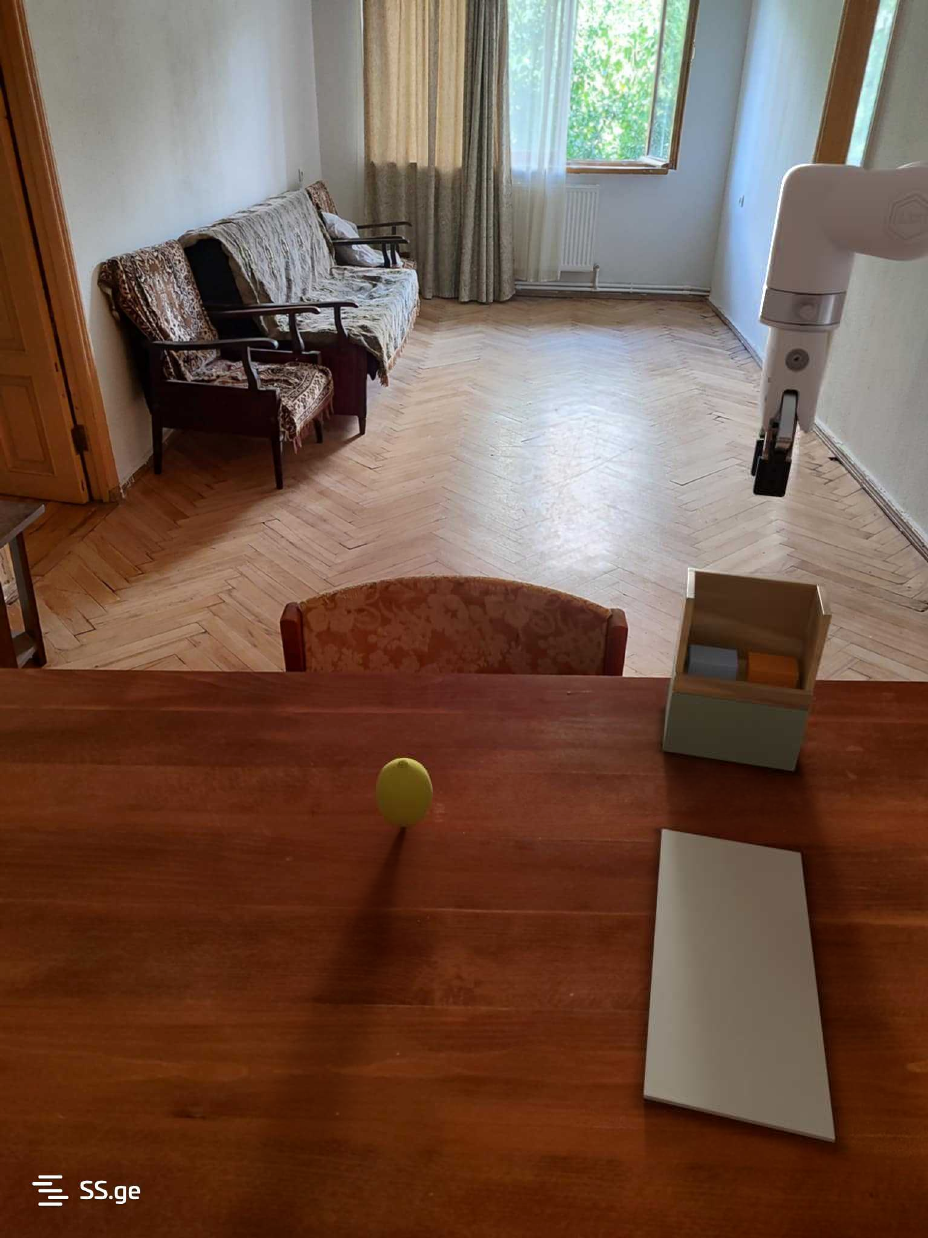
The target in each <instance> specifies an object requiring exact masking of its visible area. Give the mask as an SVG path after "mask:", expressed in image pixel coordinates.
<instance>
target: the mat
mask: <svg viewBox="0 0 928 1238" xmlns="http://www.w3.org/2000/svg"><path fill="white" fill-rule="evenodd" d="M660 839H661V840H660V853H659V867H658V881H657V895H656V896H657V897H656V912H655V923H654V924H655V927H654V937H653V938H654V940H653V953H652V954H653V955H652V966H651V967H652V968H651V981H650V982H651V983H650V999H649V1011H648V1024H647V1025H648V1026H647V1041H646V1055H645V1069H644V1072H645V1073H644V1082H643V1083H644V1084H643V1099H645V1100H650V1101H655V1102H659V1103H663V1104H667V1105H671V1106H676V1107H680V1108H685V1109H689V1110H693V1111H698V1112H701V1113H706V1114H711V1115H714V1116H718V1117H723V1118H726V1119H727V1118H728V1119H732V1120H735V1121H740V1122H744V1123H748V1124H753V1125H758V1126H762V1127H766V1128H771V1129H775V1130H779V1131H783V1132H788V1133H792V1134H797V1135H801V1136H805V1137H808V1138H812V1139H818V1140H822V1141H826V1142H830V1143H835V1141H836V1135H835V1128H834V1127H835V1126H834V1119H833V1109H832V1103H831V1102H832V1101H831V1095H830V1086H829V1085H830V1084H829V1078H828V1069H827V1061H826V1060H827V1059H826V1053H825V1043H824V1037H823V1028H822V1027H823V1026H822V1020H821V1019H822V1018H821V1011H820V1004H819V995H818V994H819V993H818V986H817V979H816V978H817V977H816V969H815V960H814V954H813V946H812V945H813V944H812V936H811V929H810V921H809V919H810V918H809V913H808V904H807V896H806V887H805V878H804V871H803V862H802V854H801V852H797V851H792V850H785V849H780V848H775V847H770V846H764V845H757V844H751V843H746V842H739V841H734V840H730V839H729V840H728V839H723V838H717V837H711V836H705V835H700V834H694V833H693V834H692V833H688V832H683V831H682V832H681V831H676V830H670V829H666V828H665V829H664V828H662V829H661V838H660Z"/></svg>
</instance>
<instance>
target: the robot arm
mask: <svg viewBox="0 0 928 1238" xmlns="http://www.w3.org/2000/svg"><path fill="white" fill-rule="evenodd" d="M780 187H781V188H780V193H779V199H778V204H777V211H776V216H775V221H774V226H773V232H772V233H773V234H772V238H771V245H770V250H769V251H770V252H769V257H768V263H767V268H766V274H765V275H766V276H765V280H764V285H763V292H762V298H761V303H760V309H759V315H758V323H760V324H763V325H764V326H767V327H769V328H768V333H767V340H766V345H765V351H764V356H763V363H762V368H761V369H762V370H761V375H760V383H759V391H758V404H757V406H758V407H757V409H758V416H759V421H760V428H759V433H758V438H757V439H756V441H755V445H754V451H753V456H752V462H751V468H750V475H751V476H752V477H754V481H753V486H752V493H753V495H755V496H762V497H771V498H772V497H773V498H784V497H785V495H786V492H787V487H788V482H789V477H790V472H791V468H792V462H793V459H792V456H793V451H794V447H795V438H796V434H797V427H798V426H799V429H800V431H802V432H803V434H805V435H808V434H810V433H812V431H813V430H814V425H815V420H816V412H817V407H818V403H819V402H818V401H819V397H820V396H819V395H820V391H821V385H822V379H823V374H824V368H825V367H824V366H825V361H826V353H827V347H828V346H827V345H828V334H829V331H833V330H837V329H839V328H840V325H841V321H842V316H843V311H844V307H845V302H846V297H847V293H848V289H849V283H850V279H851V276H852V275H851V274H852V271H853V266H854V261H855V257H856V254H861V255H866V256H870V257H875V258H879V259H880V258H881V259H883V260H889V261H895V262H910V261H916V260H920V259H923V258H926V257H928V158H926V159H921V160H918V161H912V162H910V163H906V164H904V165H901V166H899V167H897V168H891V169H889V168H888V169H876V170H875V169H874V170H866V169H865V168H863V167H862V166H861V167H860V166H858V165H853V164H840V163H803V164H798V165H795V166H793V167H791V168H790V169H789V170H788V171H787V172H786V174H785V175H784V177H783V179H782V184H781V186H780Z"/></svg>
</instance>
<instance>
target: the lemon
mask: <svg viewBox="0 0 928 1238" xmlns="http://www.w3.org/2000/svg"><path fill="white" fill-rule="evenodd" d="M432 784H433V783H432V781H431V778H430V775H429V773H428V771H427V770H426V768H425V767H424V766H423V764H421V763H420V762H419V761H417V760H414V759H412V758H409V757H408V758H407V757H401V758H395V759H392V760H391V761H390V762H388V763H387V764H386V765H384V766H383V767H382V769H381V771H380V772H379V774H378V777H377V779H376V784H375V790H374V795H375V805H376V807H377V810H378V812H379V814H380V815H381V817H382V818H383V820H385V821H386V822H387V823H389V824H390V825H392V826H395V827H398V828H409V827H413V826H415V825H417V824H419V823H420V822H421V821H423V820H424V818H425V817H426V816H427V815H428V813H429V811H430V808H431V806H432V804H433V785H432Z"/></svg>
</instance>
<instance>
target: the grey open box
mask: <svg viewBox="0 0 928 1238" xmlns="http://www.w3.org/2000/svg"><path fill="white" fill-rule="evenodd" d="M674 658H675V654H674V656H673V659H674ZM673 672H674V660H673V662H672V668H671V673H670V674H671V676H670V682H669V687H668V694H667V701H666V707H665V718H664V732H663V744H662V751H663V752H669V753H674V754H681V755H686V756H694V757H701V758H706V759H712V760H720V761H725V762H731V763H737V764H745V765H752V766H757V767H764V768H771V769H777V770H783V771H788V772H789V771H790V772H795V771H796V766H797V762H798V758H799V755H800V750H801V747H802V743H803V739H804V736H805V730H806V727H807V723H808V720H809V715H810V711H807V710H800V709H793V708H786V707H778V706H771V705H764V704H757V703H750V702H743V701H736V700H729V699H722V698H715V697H708V696H701V695H694V694H687V693H680V692H673V691H672V687H673Z"/></svg>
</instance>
